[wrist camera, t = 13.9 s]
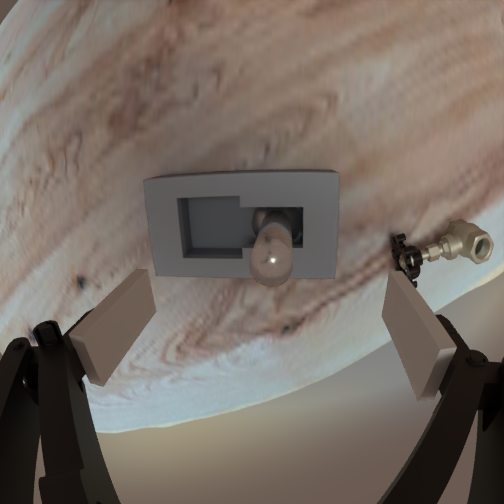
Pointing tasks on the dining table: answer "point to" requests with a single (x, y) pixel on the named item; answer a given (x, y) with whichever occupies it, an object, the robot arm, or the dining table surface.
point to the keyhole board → (239, 220)
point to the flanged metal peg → (274, 244)
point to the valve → (443, 248)
